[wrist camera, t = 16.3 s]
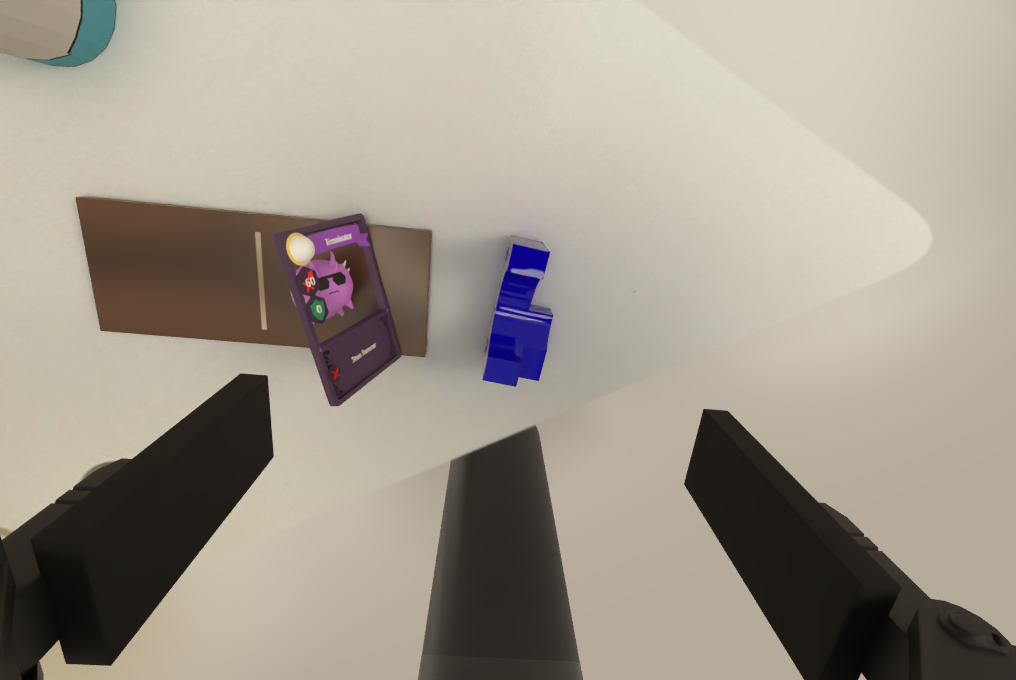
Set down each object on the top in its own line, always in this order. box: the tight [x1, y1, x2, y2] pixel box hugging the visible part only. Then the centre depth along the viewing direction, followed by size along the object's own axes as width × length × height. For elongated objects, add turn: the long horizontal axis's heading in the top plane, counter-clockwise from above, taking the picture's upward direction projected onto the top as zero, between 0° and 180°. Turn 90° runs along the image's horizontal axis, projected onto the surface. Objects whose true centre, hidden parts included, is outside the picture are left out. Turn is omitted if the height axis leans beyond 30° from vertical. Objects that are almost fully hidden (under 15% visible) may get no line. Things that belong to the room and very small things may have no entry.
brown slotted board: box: [76, 197, 432, 357], centre depth 29 cm, size 8×20×1 cm, turn 84°
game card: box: [273, 214, 401, 406], centre depth 27 cm, size 7×5×9 cm
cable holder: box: [483, 235, 553, 386], centre depth 28 cm, size 8×4×4 cm, turn 167°
